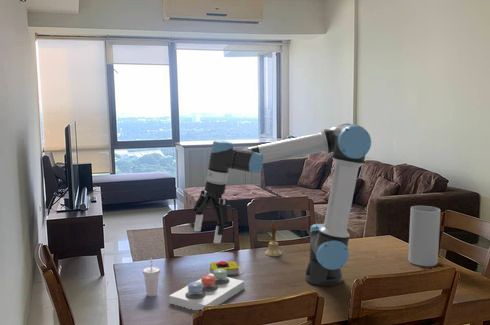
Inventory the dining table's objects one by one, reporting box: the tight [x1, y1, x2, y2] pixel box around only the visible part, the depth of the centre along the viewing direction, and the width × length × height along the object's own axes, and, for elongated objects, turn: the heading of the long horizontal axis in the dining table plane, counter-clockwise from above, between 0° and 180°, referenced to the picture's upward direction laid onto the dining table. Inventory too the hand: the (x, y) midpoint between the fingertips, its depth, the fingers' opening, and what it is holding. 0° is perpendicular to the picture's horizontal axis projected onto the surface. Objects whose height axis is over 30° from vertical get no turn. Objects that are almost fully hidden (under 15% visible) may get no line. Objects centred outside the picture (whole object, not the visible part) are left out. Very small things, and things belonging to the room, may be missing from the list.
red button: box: [200, 274, 215, 286], centre depth 178 cm, size 5×5×2 cm
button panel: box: [168, 274, 245, 311], centre depth 178 cm, size 16×26×3 cm, turn 149°
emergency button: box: [206, 260, 245, 276], centre depth 204 cm, size 9×4×15 cm
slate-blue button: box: [187, 281, 203, 293], centre depth 171 cm, size 5×5×2 cm
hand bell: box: [264, 220, 283, 257], centre depth 227 cm, size 8×8×16 cm
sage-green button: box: [213, 269, 228, 279], centre depth 185 cm, size 5×5×2 cm
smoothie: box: [142, 257, 161, 297], centre depth 179 cm, size 6×6×14 cm
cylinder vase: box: [407, 205, 441, 268], centre depth 214 cm, size 12×12×25 cm
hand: (206, 236), depth 179 cm, fingers open, 13 cm apart
